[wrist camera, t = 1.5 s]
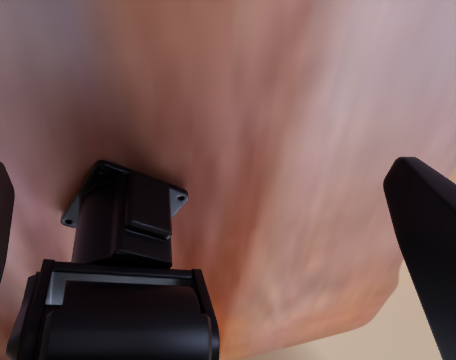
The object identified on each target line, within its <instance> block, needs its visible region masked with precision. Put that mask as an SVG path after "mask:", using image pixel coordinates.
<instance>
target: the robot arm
mask: <svg viewBox="0 0 456 360" xmlns="http://www.w3.org/2000/svg"><path fill="white" fill-rule="evenodd" d="M101 167H103V168H106V169H101ZM383 188H384V193H385V197H386V200H387V204H388V208H389V212H390V216H391V219H392V223H393V227H394V231H395V234H396V238H397V241H398V244H399V247H400V250H401V252H402V255H403V258H404V260H405V263H406V265H407V268H408V270H409V273H410V276H411V278H412V281H413V284H414V286H415V289H416V291H417V294H418V297H419V299H420V302H421V304H422V307H423V310H424V312H425V315H426V317H427V320H428V323H429V325H430V328H431V330H432V333H433V336H434V338H435V341H436V343H437V346H438V349H439V351H440V354H441V357H442V359H443V360H456V184H455V183H453V182H452V181H450V180H449V179H447V178H446V177H444V176H443V175H441V174H440V173H438V172H437V171H435V170H434V169H432V168H431V167H430V166H428V165H427V164H425V163H424V162H422V161H421V160H419V159H418V158H416V157H399V158H398V159H396V160H395V162H394V164H393V165H392V167H391V169H390V170H389V172H388V174H387V175H386V177H385V179H384V182H383ZM14 197H15V194H14V188H13V185H12V183H11V180H10V178H9V176H8V173H7V171H6V168H5V166H4V165H3V163H2V162H0V282H1V279H2V275H3V271H4V267H5V263H6V257H7V250H8V243H9V236H10V228H11V221H12V213H13V206H14ZM187 200H188V192H187V191H186V190H185V189H182V188H179V187H177V186H174V185H171V184H169V183H166V182H163V181H160V180H158V179H155V178H152V177H150V176H147V175H144V174H141V173H139V172H136V171H133V170H131V169H128V168H125V167H123V166H120V165H117V164H114V163H112V162H109V161H106V160H99V161H97V162H96V163H95V164H94V166H93V167H92V169H91V170H90V172H89V173H88V175H87V177H86V178H85V180H84V181H83V183H82V184H81V186H80V188H79V189H78V191H77V192H76V194H75V195H74V197H73V199H72V200H71V202H70V203H69V205H68V206H67V208H66V209H65V211H64V213H63V214H62V217H61V223H62V224H63V225H65V226H68V227H72V228H76V235H75V241H74V247H73V254H72V260H71V262H56V261H55V260H51V259H44V260H43V264H42V268H41V272H36V274H35V275H33V276H30V277H28V281H27V285H26V289H25V293H24V298H23V301H22V305H21V308H20V311H19V314H18V316H17V319H16V321H15V324H14V327H13V329H12V332H11V335H10V337H9V340H8V343H7V347H6V355H7V356H8V358H9V359H10V360H219V347H220V343H219V330H218V324H217V320H216V317H215V313H214V310H213V307H212V303H211V300H210V297H209V294H208V290H207V287H206V284H205V281H204V277H203V274H202V271H201V269H192V270H179V269H170V268H171V267H172V250H171V235H172V226H171V218H172V217H173V216H174V215H175V213H176V212H177V211H178V210H179V209H180V208H181V207H182V206H183V205H184V203H185V202H186V201H187Z"/></svg>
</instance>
